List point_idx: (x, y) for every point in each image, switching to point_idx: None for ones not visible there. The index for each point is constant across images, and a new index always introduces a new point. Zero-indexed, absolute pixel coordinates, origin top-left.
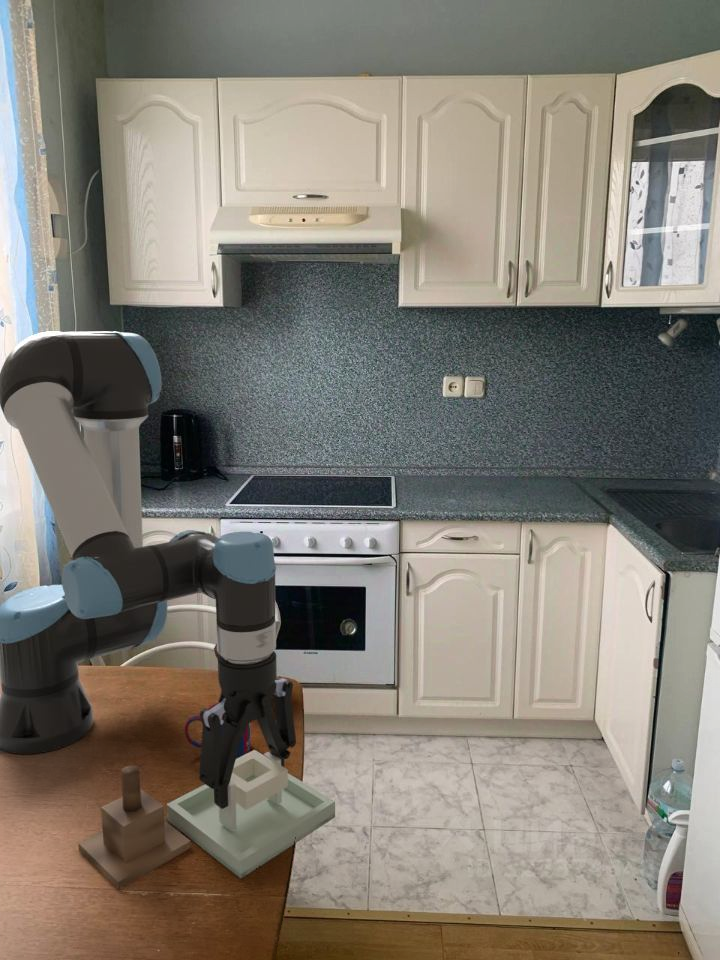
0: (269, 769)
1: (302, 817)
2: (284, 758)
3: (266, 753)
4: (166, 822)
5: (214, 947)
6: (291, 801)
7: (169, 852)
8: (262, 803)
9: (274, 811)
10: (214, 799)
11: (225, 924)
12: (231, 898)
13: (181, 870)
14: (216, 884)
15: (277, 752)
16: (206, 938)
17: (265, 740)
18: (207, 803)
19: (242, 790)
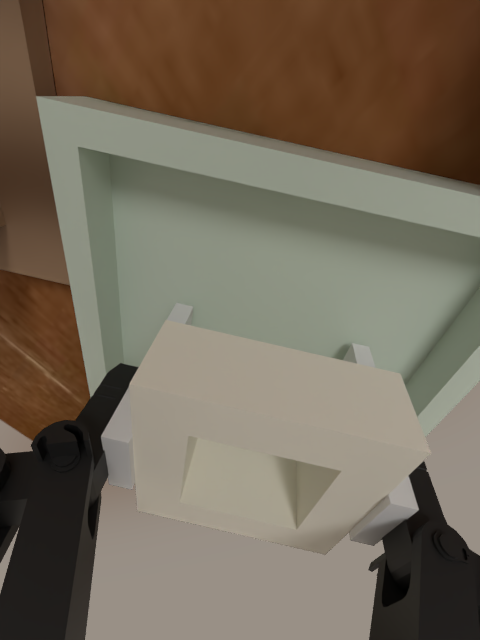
0: (300, 519)
1: None
2: (372, 563)
3: (399, 508)
4: (43, 147)
5: (15, 426)
6: None
7: (2, 268)
8: (326, 341)
9: None
10: (101, 382)
11: (46, 420)
12: (79, 407)
13: (31, 304)
14: (74, 376)
15: (383, 574)
16: (11, 413)
17: (418, 611)
18: (234, 187)
19: (136, 501)
